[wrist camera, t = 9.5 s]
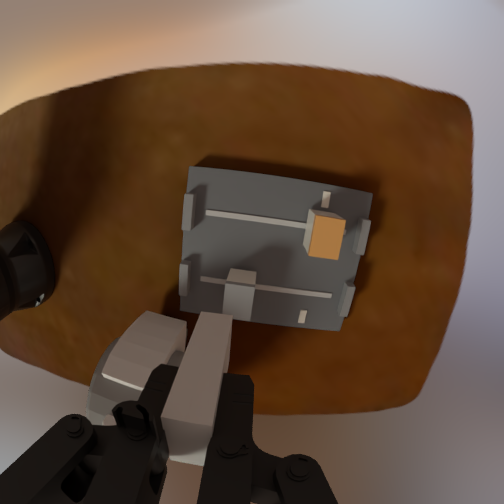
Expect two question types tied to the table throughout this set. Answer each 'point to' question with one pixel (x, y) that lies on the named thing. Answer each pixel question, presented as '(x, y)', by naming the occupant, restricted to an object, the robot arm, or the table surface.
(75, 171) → the table surface
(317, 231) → the fader
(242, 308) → the fader
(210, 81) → the table surface
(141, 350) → the alarm clock
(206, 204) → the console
